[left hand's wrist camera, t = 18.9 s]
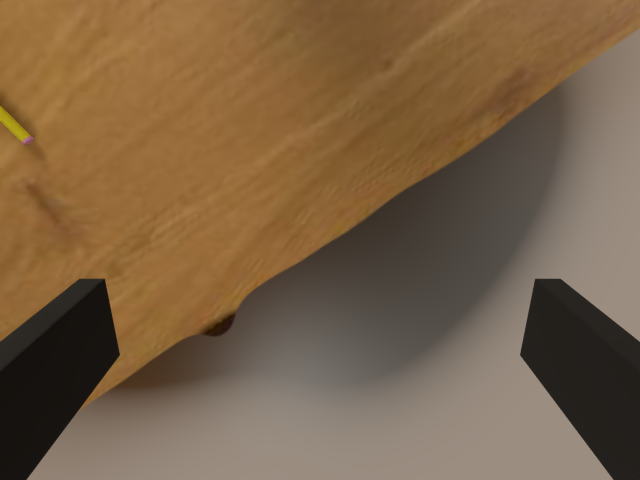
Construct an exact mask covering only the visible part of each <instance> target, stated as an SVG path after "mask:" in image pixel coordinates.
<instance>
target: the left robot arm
mask: <svg viewBox="0 0 640 480" xmlns="http://www.w3.org/2000/svg"><path fill="white" fill-rule="evenodd" d="M520 355H521V357H522V358H523V360H524V361H525V362H526V363H527V365H528V366H529V368H530V369H531V370H532V372H533V373H534V374H535V376H536V377H537V378H538V379H539V381H540V382H541V383H542V385H543V386H544V388H545V389H546V390H547V392H548V393H549V394H550V396H551V397H552V398H553V400H554V401H555V402H556V404H557V405H558V406H559V408H560V409H561V410H562V412H563V413H564V414H565V416H566V417H567V418H568V419H569V421H570V422H571V424H572V425H573V426H574V427H575V429H576V430H577V431H578V433H579V434H580V436H581V437H582V438H583V440H584V441H585V442H586V444H587V445H588V446H589V448H590V449H591V450H592V452H593V453H594V454H595V456H596V457H597V458H598V460H599V461H600V462H601V464H602V465H603V466H604V468H605V469H606V470H607V472H608V473H609V474H610V476H611V477H612V478H613V480H640V342H639V341H638V340H637V339H635V338H634V337H633V336H632V335H630V334H629V333H628V332H627V331H625V330H624V329H623V328H622V327H620V326H619V325H618V324H617V323H615V322H614V321H613V320H612V319H610V318H609V317H608V316H607V315H605V314H604V313H603V312H601V311H600V310H599V309H598V308H596V307H595V306H594V305H593V304H591V303H590V302H589V301H588V300H586V299H585V298H584V297H583V296H581V295H580V294H579V293H578V292H576V291H575V290H574V289H572V288H571V287H570V286H569V285H567V284H566V283H565V282H564V281H562V280H561V279H535V283H534V288H533V293H532V298H531V303H530V308H529V313H528V318H527V323H526V328H525V333H524V338H523V343H522V348H521V353H520ZM119 356H120V353H119V348H118V343H117V338H116V333H115V328H114V323H113V318H112V313H111V308H110V303H109V298H108V293H107V288H106V283H105V279H79V280H78V281H76V282H75V283H74V284H72V285H71V286H70V287H69V288H67V289H66V290H65V291H64V292H62V293H61V294H60V295H59V296H57V297H56V298H55V299H54V300H52V301H51V302H50V303H49V304H47V305H46V306H45V307H44V308H42V309H41V310H40V311H39V312H37V313H36V314H35V315H33V316H32V317H31V318H30V319H28V320H27V321H26V322H25V323H23V324H22V325H21V326H20V327H18V328H17V329H16V330H15V331H13V332H12V333H11V334H10V335H8V336H7V337H6V338H5V339H3V340H2V341H1V342H0V480H27V478H28V477H29V476H30V474H31V473H32V472H33V470H34V469H35V468H36V466H37V465H38V464H39V462H40V461H41V460H42V458H43V457H44V456H45V454H46V453H47V452H48V450H49V449H50V448H51V446H52V445H53V444H54V442H55V441H56V440H57V438H58V437H59V436H60V434H61V433H62V432H63V430H64V429H65V428H66V426H67V425H68V424H69V422H70V421H71V420H72V418H73V417H74V416H75V414H76V413H77V412H78V410H79V409H80V408H81V406H82V405H83V404H84V402H85V401H86V400H87V398H88V397H89V396H90V394H91V393H92V392H93V390H94V389H95V388H96V386H97V385H98V384H99V382H100V381H101V380H102V378H103V377H104V376H105V374H106V373H107V372H108V370H109V369H110V368H111V366H112V365H113V364H114V362H115V361H116V360H117V358H118V357H119Z"/></svg>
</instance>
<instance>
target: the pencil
mask: <svg viewBox="0 0 640 480" xmlns="http://www.w3.org/2000/svg"><path fill="white" fill-rule="evenodd" d="M0 121H1V122H2V123H3V124H4V125H5V126H6V127H7V128H8V129H9V130H10V131H11V132H12V133H13V134H14V135H15V136H16V137H17V138H18V139H19V140H20V141H21V142H22V143H23V144H24V145H27V144H29V143H31V142H32V141H33V140H34V138H33V137H32V136H31V135H30V134H29V133H28V132H27V131H26V130H25V129H24V128H23V127H22V126H21V125H20V124H19V123H18V122H17V121H16V120H15V119H14V118H13V117H12V116H11V115H10V114H9V113H8V112H7V111H5V110H4V109H3V108H2V107H1V106H0Z"/></svg>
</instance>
